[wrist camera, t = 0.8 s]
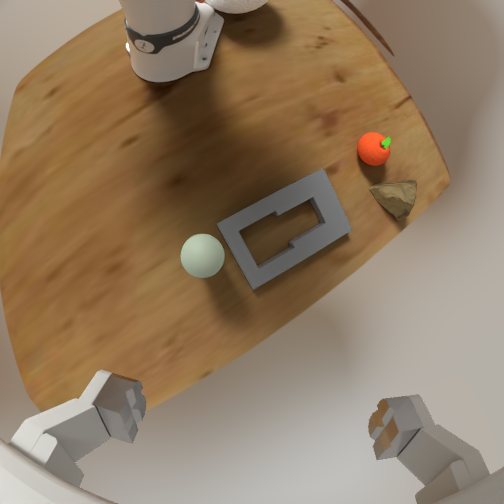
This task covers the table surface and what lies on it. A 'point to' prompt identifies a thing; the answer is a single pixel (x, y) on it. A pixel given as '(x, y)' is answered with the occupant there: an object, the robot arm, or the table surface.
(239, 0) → the white lumpy blob
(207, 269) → the sage post
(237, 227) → the keyhole board
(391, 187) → the rock
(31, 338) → the table surface
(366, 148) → the clementine
